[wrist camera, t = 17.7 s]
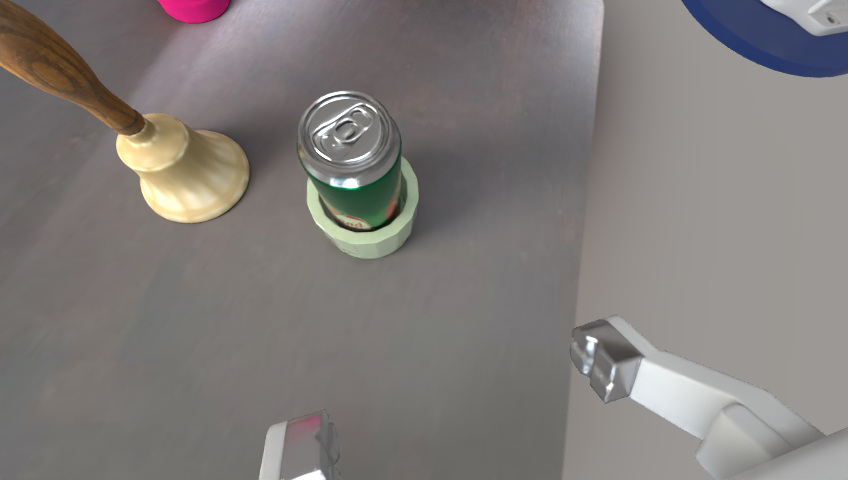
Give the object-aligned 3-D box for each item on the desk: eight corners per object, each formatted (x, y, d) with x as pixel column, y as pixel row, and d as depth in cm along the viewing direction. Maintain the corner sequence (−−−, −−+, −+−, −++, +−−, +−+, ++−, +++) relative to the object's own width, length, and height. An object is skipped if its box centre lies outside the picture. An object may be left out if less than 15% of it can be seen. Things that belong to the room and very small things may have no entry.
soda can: (324, 217, 26) (264, 129, 14) (368, 176, 27) (346, 64, 15) (370, 259, 25) (346, 202, 14) (413, 214, 26) (424, 128, 15)
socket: (412, 172, 28) (414, 140, 23) (417, 256, 26) (422, 240, 21) (323, 174, 27) (307, 142, 23) (322, 261, 25) (305, 246, 21)
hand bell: (263, 143, 28) (97, -83, 12) (229, 233, 25) (-26, 91, 10) (168, 123, 28) (-121, -133, 12) (126, 211, 25) (-296, 33, 10)
